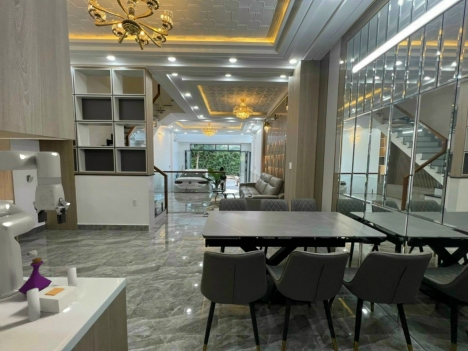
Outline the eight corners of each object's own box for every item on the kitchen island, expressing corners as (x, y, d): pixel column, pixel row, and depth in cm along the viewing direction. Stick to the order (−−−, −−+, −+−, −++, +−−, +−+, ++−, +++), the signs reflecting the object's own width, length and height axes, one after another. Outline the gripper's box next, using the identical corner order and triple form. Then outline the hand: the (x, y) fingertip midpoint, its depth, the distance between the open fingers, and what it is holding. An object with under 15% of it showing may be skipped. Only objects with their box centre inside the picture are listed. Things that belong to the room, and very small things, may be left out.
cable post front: (26, 321, 74) (24, 293, 74) (35, 314, 77) (33, 287, 77) (34, 322, 74) (31, 293, 73) (43, 315, 77) (40, 288, 76)
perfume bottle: (52, 288, 94) (49, 247, 92) (35, 299, 86) (31, 255, 85) (37, 287, 94) (33, 247, 93) (18, 298, 87) (14, 254, 86)
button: (45, 304, 81) (44, 293, 81) (56, 297, 85) (55, 287, 85) (54, 305, 81) (54, 294, 80) (64, 298, 85) (64, 288, 84)
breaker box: (31, 309, 80) (30, 296, 80) (52, 296, 88) (51, 284, 88) (59, 312, 78) (58, 299, 78) (78, 298, 86) (77, 286, 86)
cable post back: (66, 294, 89) (64, 270, 89) (73, 290, 92) (71, 267, 91) (73, 294, 89) (71, 271, 88) (79, 290, 92) (77, 267, 91)
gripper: (22, 182, 88) (25, 224, 89) (57, 183, 84) (60, 226, 86) (42, 180, 95) (44, 219, 96) (75, 181, 92) (77, 221, 93)
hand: (52, 222), depth 91 cm, fingers open, 9 cm apart
